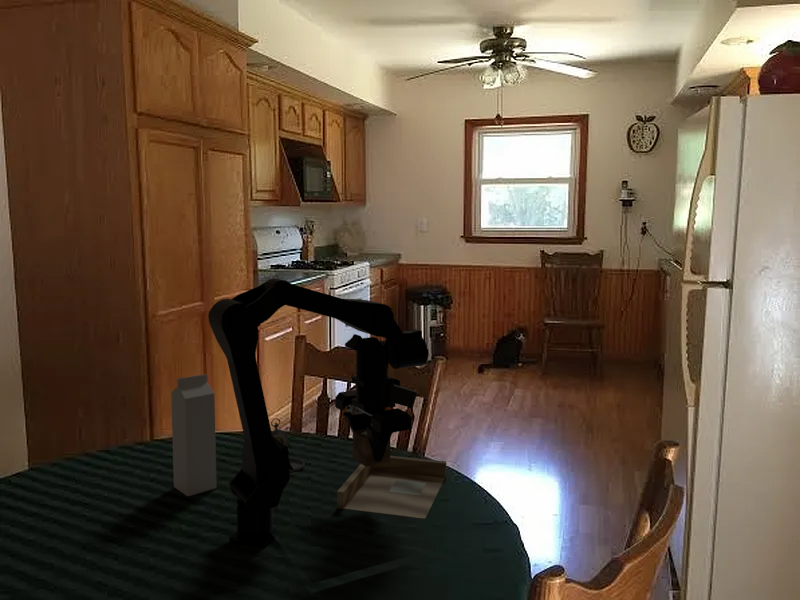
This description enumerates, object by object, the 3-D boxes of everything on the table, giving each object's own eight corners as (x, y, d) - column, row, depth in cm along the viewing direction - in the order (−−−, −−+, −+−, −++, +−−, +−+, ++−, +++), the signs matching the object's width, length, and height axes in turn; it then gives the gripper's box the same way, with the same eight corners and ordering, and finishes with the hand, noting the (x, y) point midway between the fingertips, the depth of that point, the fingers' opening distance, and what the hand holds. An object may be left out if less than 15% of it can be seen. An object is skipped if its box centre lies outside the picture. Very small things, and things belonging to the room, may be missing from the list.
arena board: (424, 524, 117) (425, 501, 117) (337, 512, 121) (337, 491, 120) (445, 480, 136) (446, 461, 136) (369, 472, 140) (369, 453, 140)
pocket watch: (301, 474, 138) (301, 427, 137) (260, 473, 139) (260, 426, 137) (307, 460, 147) (307, 415, 145) (269, 459, 147) (268, 414, 145)
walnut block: (390, 461, 122) (390, 434, 121) (365, 466, 119) (365, 439, 118) (376, 453, 126) (376, 426, 125) (352, 457, 123) (352, 431, 123)
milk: (216, 488, 131) (215, 377, 128) (187, 497, 127) (184, 382, 124) (202, 479, 135) (200, 371, 133) (172, 487, 131) (170, 375, 128)
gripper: (439, 378, 117) (437, 465, 119) (385, 357, 133) (384, 434, 135) (382, 385, 111) (381, 477, 113) (333, 363, 127) (333, 443, 129)
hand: (371, 456), depth 122 cm, fingers closed on walnut block, 5 cm apart
